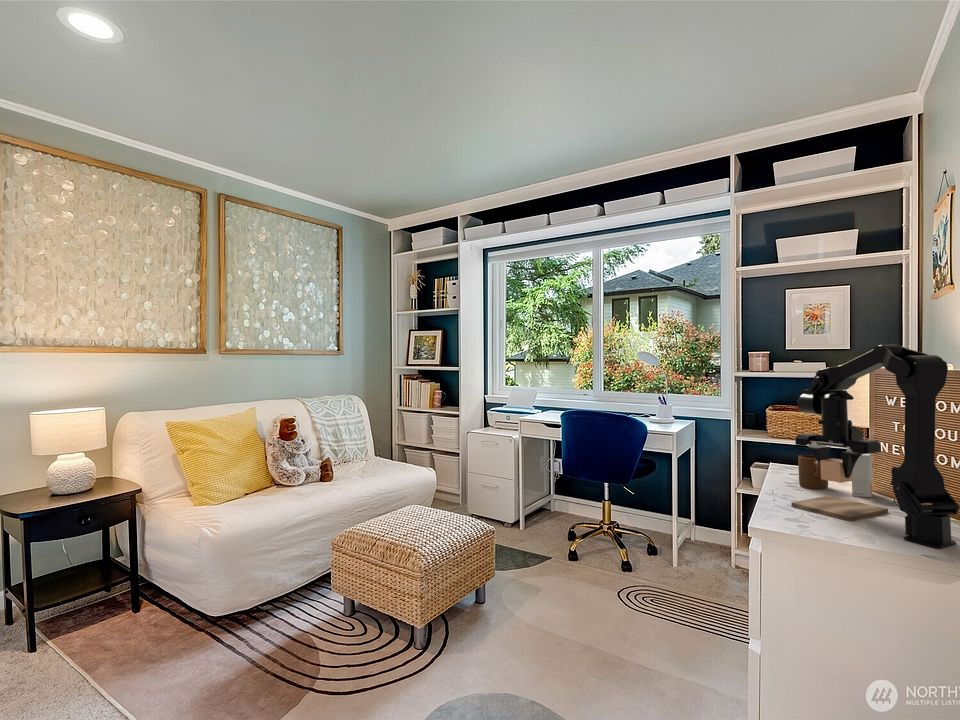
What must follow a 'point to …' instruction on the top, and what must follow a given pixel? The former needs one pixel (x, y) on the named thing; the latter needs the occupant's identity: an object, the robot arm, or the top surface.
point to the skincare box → (862, 477)
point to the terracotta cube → (833, 471)
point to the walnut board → (839, 508)
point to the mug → (810, 473)
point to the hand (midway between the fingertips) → (837, 475)
